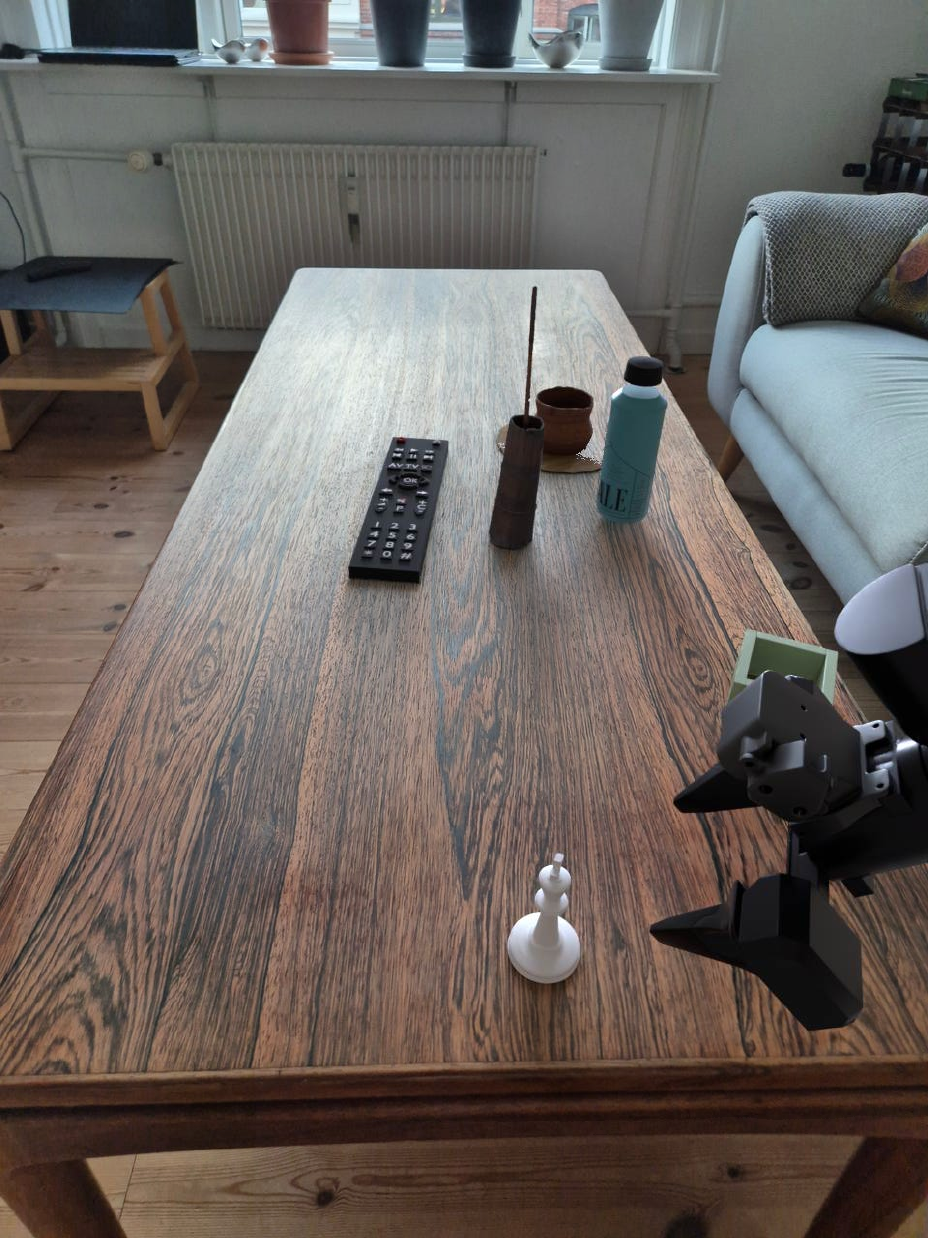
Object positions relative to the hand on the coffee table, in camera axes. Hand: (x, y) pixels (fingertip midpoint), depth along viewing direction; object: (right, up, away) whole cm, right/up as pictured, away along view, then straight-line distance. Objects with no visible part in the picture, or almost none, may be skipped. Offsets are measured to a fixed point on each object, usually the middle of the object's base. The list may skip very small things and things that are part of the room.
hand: (666, 865), depth 48 cm
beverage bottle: (+7, +26, +54) cm, 60 cm away
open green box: (+17, +6, +29) cm, 34 cm away
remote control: (-19, +28, +55) cm, 65 cm away
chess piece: (-6, -8, +9) cm, 14 cm away
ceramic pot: (+2, +39, +70) cm, 80 cm away
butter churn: (-6, +23, +49) cm, 55 cm away
